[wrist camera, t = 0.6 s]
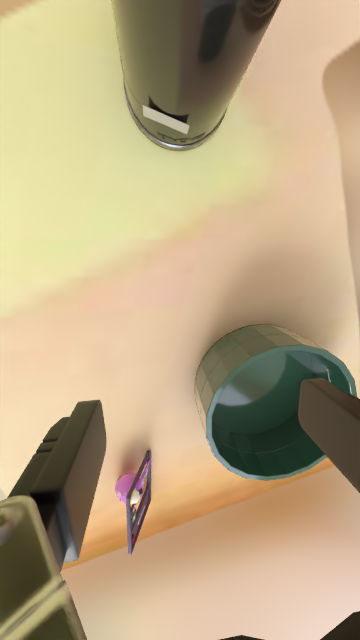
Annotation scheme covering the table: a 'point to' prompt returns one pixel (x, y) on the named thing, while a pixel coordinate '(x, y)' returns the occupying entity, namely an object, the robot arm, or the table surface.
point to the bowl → (262, 400)
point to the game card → (135, 499)
